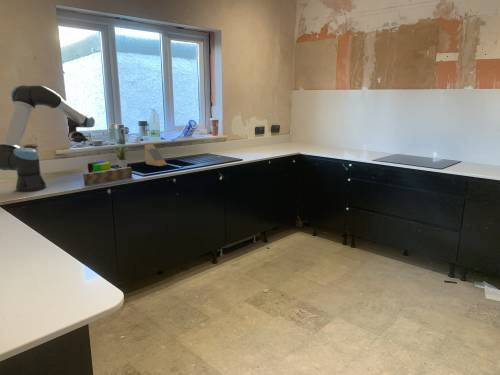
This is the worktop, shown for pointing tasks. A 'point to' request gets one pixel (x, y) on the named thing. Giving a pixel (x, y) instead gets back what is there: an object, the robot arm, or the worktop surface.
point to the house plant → (122, 158)
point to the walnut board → (107, 176)
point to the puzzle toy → (98, 166)
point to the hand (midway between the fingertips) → (90, 140)
